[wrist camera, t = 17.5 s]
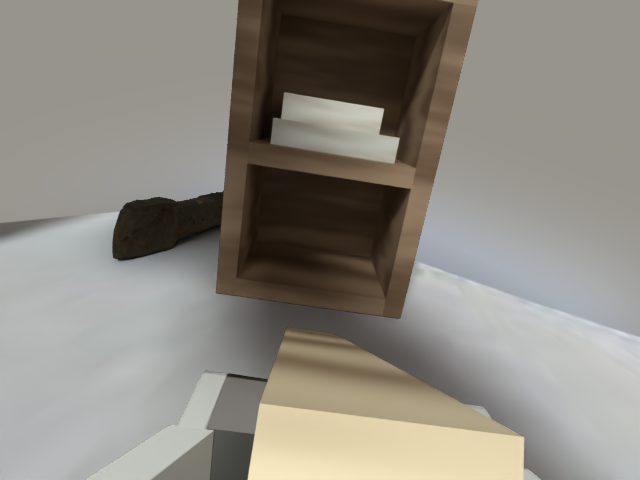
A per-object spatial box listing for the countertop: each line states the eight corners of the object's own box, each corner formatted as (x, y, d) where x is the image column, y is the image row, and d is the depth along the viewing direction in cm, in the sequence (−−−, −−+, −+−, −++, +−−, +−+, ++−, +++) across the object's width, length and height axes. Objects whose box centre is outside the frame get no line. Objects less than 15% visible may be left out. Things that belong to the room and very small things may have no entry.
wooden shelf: (400, 318, 32) (485, -28, 24) (215, 292, 31) (244, -72, 24) (379, 267, 44) (432, 21, 36) (243, 248, 43) (269, -8, 35)
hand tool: (223, 215, 56) (226, 178, 54) (251, 222, 54) (255, 184, 53) (86, 256, 35) (84, 199, 33) (126, 269, 34) (126, 210, 32)
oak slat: (517, 676, 4) (523, 436, 4) (221, 647, 4) (260, 403, 4) (330, 372, 24) (335, 334, 24) (281, 365, 23) (286, 327, 24)
